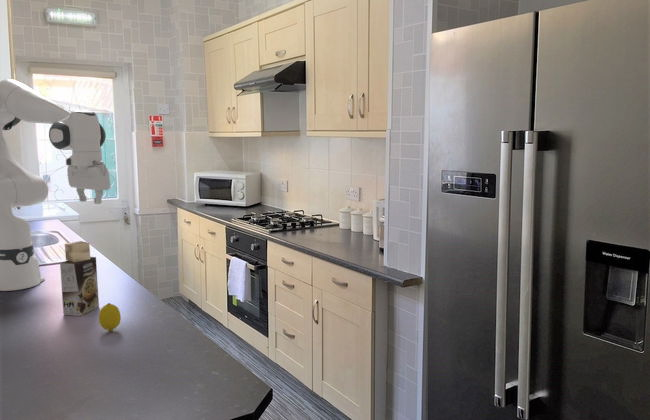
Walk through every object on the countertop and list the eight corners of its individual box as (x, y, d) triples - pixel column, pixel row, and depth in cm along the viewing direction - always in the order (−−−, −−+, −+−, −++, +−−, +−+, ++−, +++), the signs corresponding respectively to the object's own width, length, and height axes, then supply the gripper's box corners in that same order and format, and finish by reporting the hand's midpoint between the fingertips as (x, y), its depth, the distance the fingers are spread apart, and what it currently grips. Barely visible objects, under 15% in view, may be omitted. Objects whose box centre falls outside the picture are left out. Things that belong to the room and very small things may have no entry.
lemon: (125, 329, 153) (124, 301, 151) (112, 336, 147) (110, 307, 146) (109, 326, 154) (107, 299, 153) (95, 333, 149) (93, 305, 148)
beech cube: (65, 259, 165) (64, 243, 165) (81, 256, 169) (80, 240, 168) (74, 262, 162) (73, 245, 162) (90, 259, 166) (89, 242, 165)
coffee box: (81, 316, 163) (78, 263, 161) (62, 315, 164) (58, 262, 162) (100, 306, 172) (96, 256, 170) (81, 305, 173) (78, 255, 171)
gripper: (114, 161, 175) (116, 204, 177) (81, 159, 187) (83, 199, 189) (95, 161, 170) (98, 206, 172) (62, 160, 183) (65, 201, 185)
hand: (90, 202), depth 181 cm, fingers open, 8 cm apart
